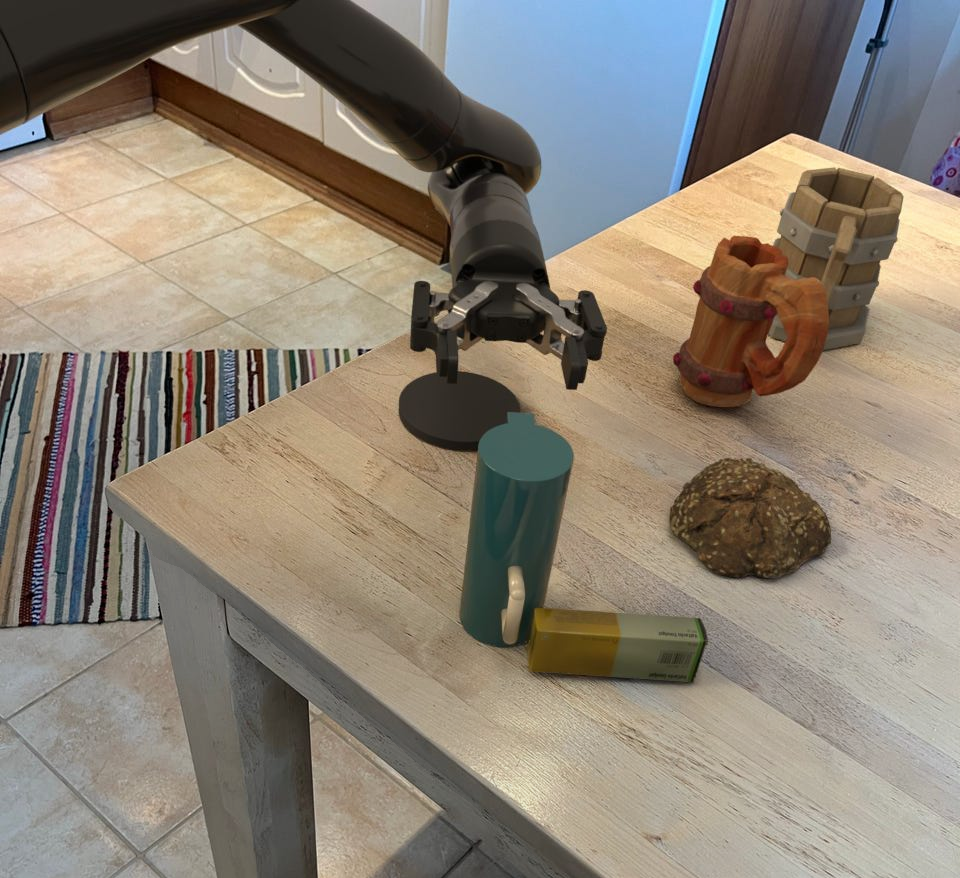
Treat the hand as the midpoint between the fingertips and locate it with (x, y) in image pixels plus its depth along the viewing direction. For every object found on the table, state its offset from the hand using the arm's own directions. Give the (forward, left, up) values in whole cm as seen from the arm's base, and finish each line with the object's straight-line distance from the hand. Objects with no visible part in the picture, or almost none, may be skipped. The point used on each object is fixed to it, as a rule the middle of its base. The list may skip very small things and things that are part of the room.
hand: (514, 376), depth 68 cm
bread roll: (+20, +7, -14) cm, 25 cm away
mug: (+18, +25, -14) cm, 34 cm away
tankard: (+25, +42, -14) cm, 50 cm away
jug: (+2, -9, -14) cm, 17 cm away
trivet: (-6, +15, -14) cm, 21 cm away
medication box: (+11, -12, -14) cm, 22 cm away
